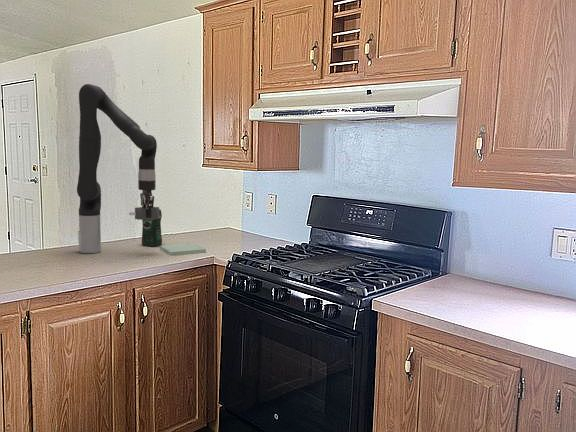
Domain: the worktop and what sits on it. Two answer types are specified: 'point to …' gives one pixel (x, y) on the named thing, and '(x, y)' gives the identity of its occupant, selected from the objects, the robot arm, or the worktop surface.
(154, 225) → the coffee jar
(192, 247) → the cutting board
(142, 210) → the connector
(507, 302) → the worktop surface
